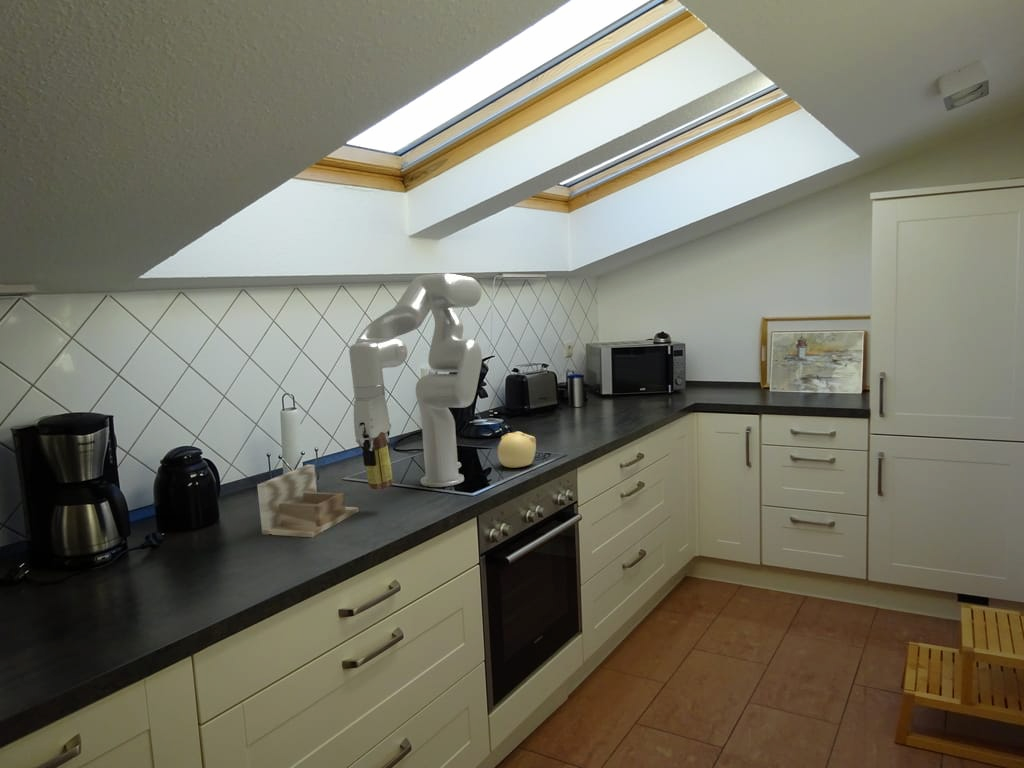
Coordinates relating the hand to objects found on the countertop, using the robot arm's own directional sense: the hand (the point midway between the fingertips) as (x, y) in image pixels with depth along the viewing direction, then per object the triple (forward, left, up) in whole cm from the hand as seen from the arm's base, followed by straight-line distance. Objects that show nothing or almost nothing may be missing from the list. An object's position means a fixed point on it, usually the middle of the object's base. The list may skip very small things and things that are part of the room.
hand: (377, 461), depth 180 cm
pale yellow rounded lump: (-50, +20, -13) cm, 55 cm away
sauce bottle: (0, 0, -7) cm, 7 cm away
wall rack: (+11, -13, -13) cm, 22 cm away
